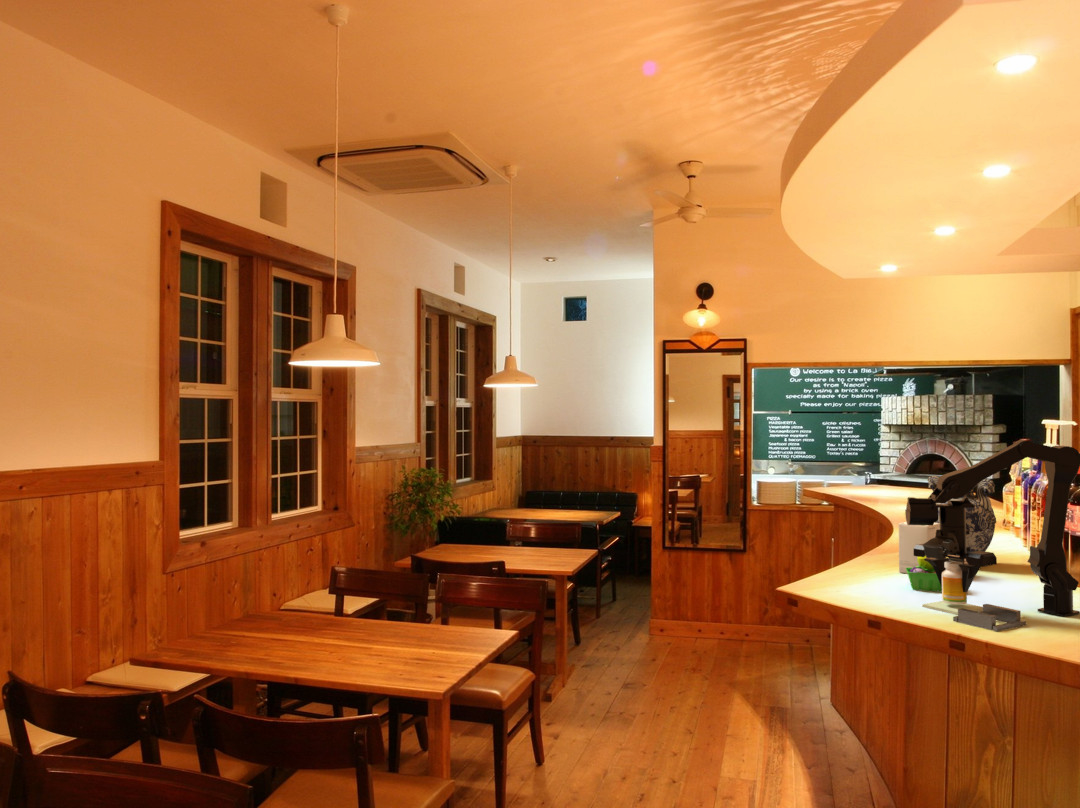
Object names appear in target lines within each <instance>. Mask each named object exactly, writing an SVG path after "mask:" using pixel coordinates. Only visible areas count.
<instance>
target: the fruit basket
mask: <svg viewBox="0 0 1080 808" xmlns="http://www.w3.org/2000/svg"><path fill="white" fill-rule="evenodd" d="M925 558H926V556H925V557H918V558H917V561H918V564H919V566H916V567H913V568H906V571H907V573H908V574H907V576H908V579H909V582H910V586H911V589H912V590H913V591H925V592H942V587H941V585H940V582H939V580H938V577H937V575H936V572H935V570H934V568H933V566H932V565H931V564H930V563H929V562H927V561H925V560H924V559H925Z"/></svg>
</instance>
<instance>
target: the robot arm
mask: <svg viewBox="0 0 1080 808" xmlns="http://www.w3.org/2000/svg"><path fill="white" fill-rule="evenodd" d="M1026 458H1029V459H1032V460H1036V461H1041V462H1044V470H1045V473H1046V474H1045V475H1046V478H1047V491H1046V499H1045V504H1044V505H1045V506H1044V513H1043V522H1042V529H1041V537H1040V540H1039V542H1038V544H1037V546H1033V545H1029V546H1030V547H1029V558H1028V559H1027V563H1028V564H1029V567H1030V570H1031V572H1032V573H1033V574H1034V575H1036V576H1037V577H1038V578H1039V581H1040V583H1041V584H1044V585H1043V587H1042V588H1043V594H1042V599H1043V601H1042V602H1043V607H1040V608H1037V611H1038V612H1042V613H1045V614H1051V615H1055V616H1060V617H1069V616H1074V615H1078V614H1080V610H1075V609H1074V591H1077V590H1078V589H1077V588H1078V586H1079V581H1078V580H1077V579H1076V578H1075V577H1074V576H1072V575H1071V573H1070V572H1068V566H1067V557H1066V553H1065V548H1064V536H1065V531H1066V530H1065V529H1066V522H1067V515H1068V507H1069V506H1068V505H1069V499H1070V498H1069V497H1070V491H1071V486H1072V483H1073V481H1074V480H1075V478H1076V476H1077V475H1078V473H1079V470H1080V451H1079V450H1078V449H1077V448H1075V447H1073V446H1067V445H1053V446H1049V445H1045V444H1041V443H1036V442H1032V441H1031V440H1027V439H1019V440H1017V441H1015V442H1013V444H1011V445H1009V446H1007V447H1005V448H1003V449H1002V450H999V451H998V452H996V453H994V454H992V455H990V456H988V457H986V458H984V459H982V460H981V461H979V462H976V463H974V464H973V465H971V466H968V467H964V468H961V469H957V470H954V471H951V472H947V473H945V474H942V475H941V476H938V477H939V479H938V481H937V487H936V489H934V491H933V490H932V492H931V493H930V495H929V496H928V497H924V498H923V497H918V498H917V497H910V496H909V497H907V503H906V508H905V513H904V514H905V522H907V524H908V525H933V524H934V522H936V521H938V508H939V514H940V529H938V530H936V536H935V538H932V539H930V540H929V541H928V542H926V543H925V544H917V545H915V547H914V549H913V555H914V556H918V557H925V556H926V558H925V559H924V560H925V561H927V562H929V563H930V564H931V565H932V566H933V568H934V570H935V572H936V575H937V577H938V580H939V582H940V585H941V587H942V572H943V571H944V570H946V568H945V567H944V562H946V561H949V558H955V559H961V560H964V564H960V565H959V567H960V568H961V570H962V587H963V592H967V593H968V591H969V589H970V587H971V585H972V583H973V581H974V579H975V577H976V576H977V574H978V572H979V571H980V569H981V568H982V567H984V568H985V567H989V566H990V567H991V566H996V565H998V564H997V563H998V562H997V561H998V560H997V558H998V557H997V556H996V555H995V553H994V552H990V551H975V552H968V551H970V547H966V535H968V534H970V530H966V509H965V508H974V507H975V505H974V504H972V503H971V502H970V501H969V500H968V498H966V497H964V498H963V499H962V500H951V499H959V498H962V497H963V496H964V495H966V494H967V493H968V492H970V491H971V490H972V489H973V490H974V489H975V488H976V485H977V484H978V483H980V482H981V481H983V480H984V479H985V480H987V479H989V478H990V477H991V476H993V475H995V474H998V473H999V472H1001V471H1004V470H1006V469H1007V468H1009V467H1011V466H1013V465H1015V464H1017V463H1018V462H1021V461H1023V460H1024V459H1026ZM946 502H948V503H947V504H936V503H946ZM967 552H968V553H967ZM948 557H949V558H948Z"/></svg>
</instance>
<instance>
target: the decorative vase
mask: <svg viewBox="0 0 1080 808" xmlns="http://www.w3.org/2000/svg"><path fill="white" fill-rule="evenodd" d="M939 477H940V476H938V475H932V476H928V478H927V484H928V489H931V490H932V492H933V491H934V490H935V489H936V487H937V481H938V479H939ZM995 486H996V484H995V483H994V481H993V480H990V479H989V478H986V479H984V480H982V481H981V482H980V483H978V484H977V485H976V486H975V487H974V488H973V489H972V490H971V491H970V492H968V493H967V494H966V495H964V496H963V497H962V498H959V499H951V500H962V499H963V498H964V497H966V498H968V500H969V501H970V502H971V503H972V504H974V505H975V507H974V508H965V509H966V530H970V534H968V535H966V547H970V551H968V552H975V551H985V552H987V550H988V548H989V546H990V545H991V543H992V540H993V537H994V535H995V528H996V524H997V517H996V515H995V512H994V509H993V507H992V503H991V499H990V497H989V496H990V495H991V494H995ZM974 492H975V494H974ZM947 503H948V502H946V503H936V504H947ZM934 523H940V514H939V508H938V521H936V522H934ZM968 552H967V553H968ZM947 558H949V557H947ZM949 561H955V562H961V563H963V564H964V560H961V559H955V558H949Z"/></svg>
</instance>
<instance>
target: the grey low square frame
mask: <svg viewBox="0 0 1080 808" xmlns="http://www.w3.org/2000/svg"><path fill="white" fill-rule="evenodd" d="M982 607H983V611H980V612H977V611H972V610H968V609H963V608H961V609H958V615H955V616H953V617H952V620H953V622H955V623H960V624H964V625H969V626H972V627H977V628H981V629H983V630H984V629H985V630H989V631H993V632H1001V631H1005V630H1012V629H1015V628H1016V627H1017V628H1020V627H1021V628H1022V627H1026V626H1027V620H1024V619H1021V618H1022V613H1021V610H1020V609H1019V610H1018V609H1015V608H1014V609H1013V608H1008V607H1004V606H1000V605H994V604H989V603H984V604H982ZM997 622H1001V623H1000V624H997Z"/></svg>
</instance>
